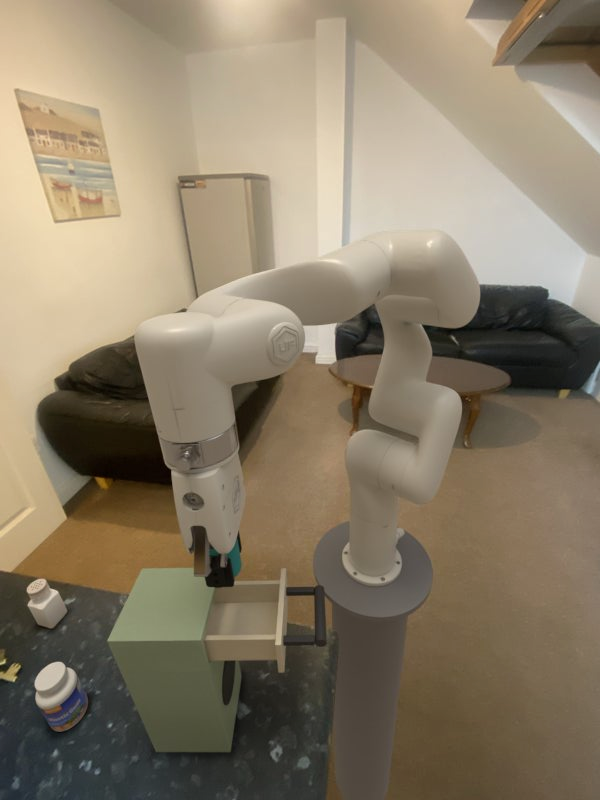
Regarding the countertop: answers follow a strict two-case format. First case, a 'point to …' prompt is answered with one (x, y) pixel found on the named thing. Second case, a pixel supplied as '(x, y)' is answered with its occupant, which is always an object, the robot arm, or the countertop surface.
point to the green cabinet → (175, 663)
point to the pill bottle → (60, 696)
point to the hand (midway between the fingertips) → (225, 566)
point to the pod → (232, 558)
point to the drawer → (259, 621)
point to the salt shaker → (45, 604)
